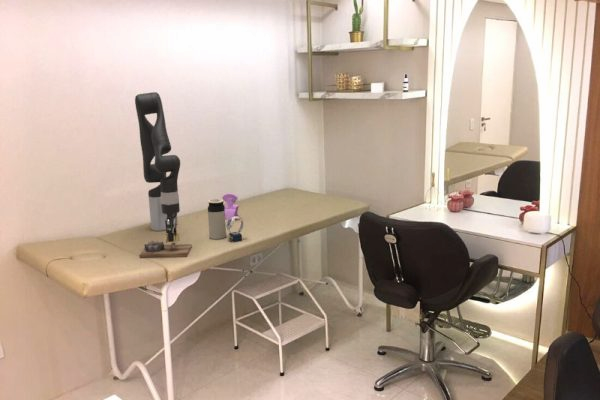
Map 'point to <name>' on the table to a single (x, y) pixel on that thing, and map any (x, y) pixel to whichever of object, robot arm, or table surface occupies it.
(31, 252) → the table surface
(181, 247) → the gear board
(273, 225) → the table surface
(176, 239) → the brass gear
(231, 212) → the toy chair
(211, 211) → the travel mug
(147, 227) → the table surface
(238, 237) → the watch
